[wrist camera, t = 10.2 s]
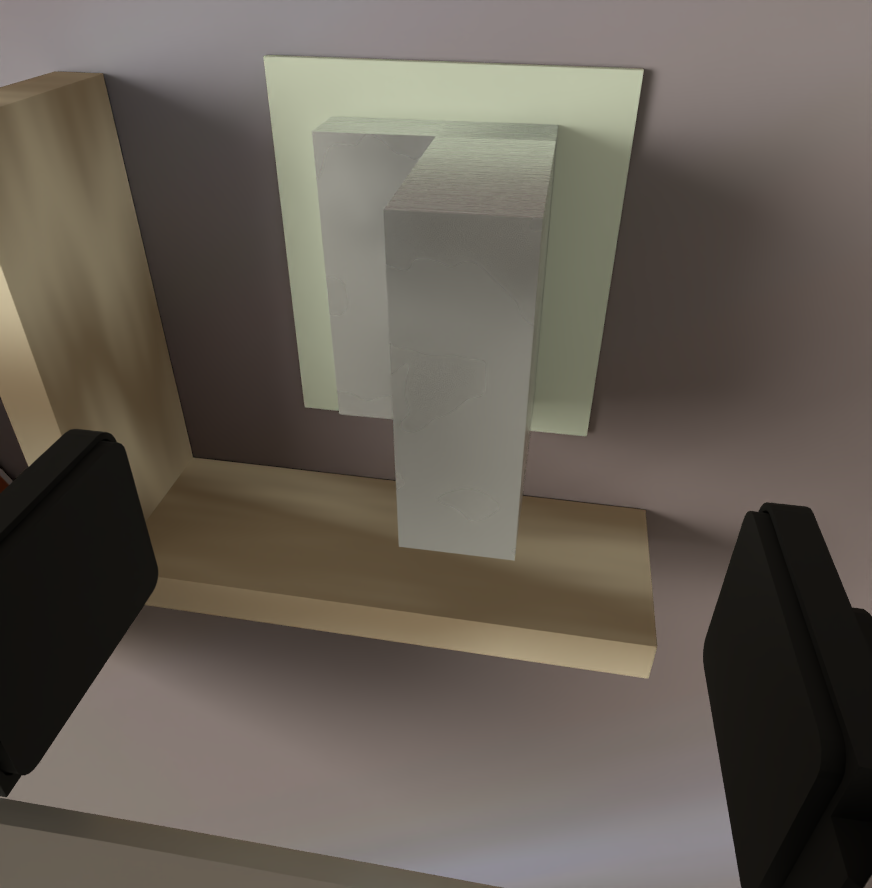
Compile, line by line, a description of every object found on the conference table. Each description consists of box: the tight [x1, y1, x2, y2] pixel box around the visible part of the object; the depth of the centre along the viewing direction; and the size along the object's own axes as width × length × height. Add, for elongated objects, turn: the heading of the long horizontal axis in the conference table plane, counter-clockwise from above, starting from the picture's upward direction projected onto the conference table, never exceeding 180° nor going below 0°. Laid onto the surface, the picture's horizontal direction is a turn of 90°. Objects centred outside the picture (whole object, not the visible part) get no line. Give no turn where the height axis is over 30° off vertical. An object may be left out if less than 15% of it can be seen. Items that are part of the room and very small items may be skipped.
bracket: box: [312, 117, 559, 561], centre depth 16 cm, size 5×7×6 cm
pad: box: [263, 55, 644, 436], centre depth 18 cm, size 9×8×1 cm
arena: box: [0, 72, 657, 679], centre depth 17 cm, size 12×15×5 cm
